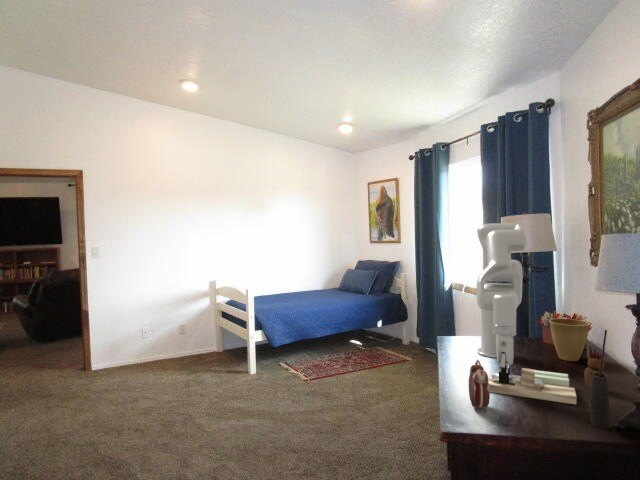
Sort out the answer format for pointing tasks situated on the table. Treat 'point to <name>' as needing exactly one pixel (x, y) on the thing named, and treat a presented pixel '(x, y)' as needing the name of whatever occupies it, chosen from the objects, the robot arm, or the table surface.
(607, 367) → the table surface
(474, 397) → the alarm clock
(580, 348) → the plant pot
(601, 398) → the butter churn
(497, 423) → the table surface
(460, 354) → the table surface
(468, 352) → the table surface
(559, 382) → the block
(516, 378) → the steel axle
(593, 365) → the wooden figurine
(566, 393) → the maple beam
